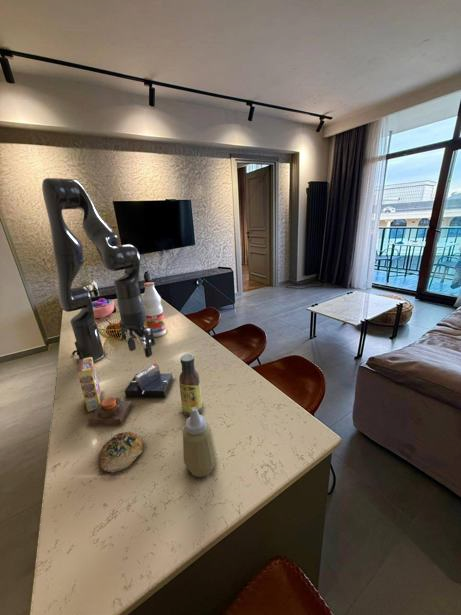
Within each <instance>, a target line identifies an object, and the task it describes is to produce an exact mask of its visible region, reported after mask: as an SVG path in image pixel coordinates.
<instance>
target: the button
mask: <svg viewBox="0 0 461 615" xmlns="http://www.w3.org/2000/svg"><path fill="white" fill-rule="evenodd" d="M115 398H116V397H113V396H111V397H107V398H105V399H103V400H102V401H103V402H102V401H101V402H102V407H103V410H110V409H113V408H114V407H115V406H116V404H117V403H116V400H115Z"/></svg>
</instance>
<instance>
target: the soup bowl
mask: <svg viewBox="0 0 461 615" xmlns="http://www.w3.org/2000/svg"><path fill="white" fill-rule="evenodd" d="M92 304H93V310H94V314H95V319H103V318H105V317H107V316H110V315H111V314H112V313H113V312H114V310H115V300H114V299H111V298H110V299H109V298H108V299H106V298H105V297H99V298H98V300H95V301H92Z"/></svg>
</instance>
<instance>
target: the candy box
mask: <svg viewBox="0 0 461 615" xmlns="http://www.w3.org/2000/svg"><path fill="white" fill-rule="evenodd" d="M76 372H77V377H78V380H79V384H80V389H81V391H82V395H83V400H84V402H85V406H86V411H87V412H94V411H95V410H96V409H97V407H98V406H99V405H100V403H101V402H102V392H101V388H100V383H99V379H98V375H97V371H96V367H95V364H94V362H93V359H92V357H89V358H85V359H81V360H80V359H79V360H78V367H77V371H76Z"/></svg>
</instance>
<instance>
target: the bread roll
mask: <svg viewBox="0 0 461 615" xmlns="http://www.w3.org/2000/svg"><path fill="white" fill-rule="evenodd" d="M143 450H144V444H143V441H142V439H141V438H140V437H139V435H137V434H136V433H134V432H131V431H125V432H124V431H122V432H119V433H117V434H115V435H114V436H112V437H111V438H110V439H109V440H107V441H106V442H105V444H103V446H102V448H101V449H100V452H99V457H98V458H99V459H98V463H99V467H100V468H101V469H102V471H104V472H105V473H106V472H107V473H111V474H114V473H115V472H119V471H121V470H124V469H127V468H128V467H130V466H131V465H132V464H133V462H134V461H135V460H136V459H137V457H138V456H139V455H141V454H142V452H143Z"/></svg>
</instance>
